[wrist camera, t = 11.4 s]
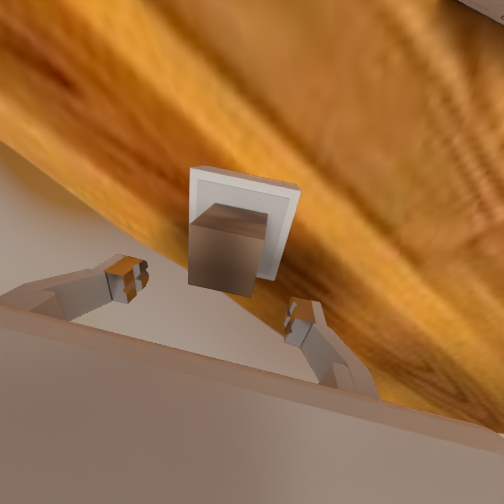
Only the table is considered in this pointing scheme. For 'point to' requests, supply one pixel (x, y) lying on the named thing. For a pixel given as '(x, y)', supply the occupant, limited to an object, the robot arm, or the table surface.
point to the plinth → (248, 206)
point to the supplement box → (488, 8)
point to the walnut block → (226, 249)
